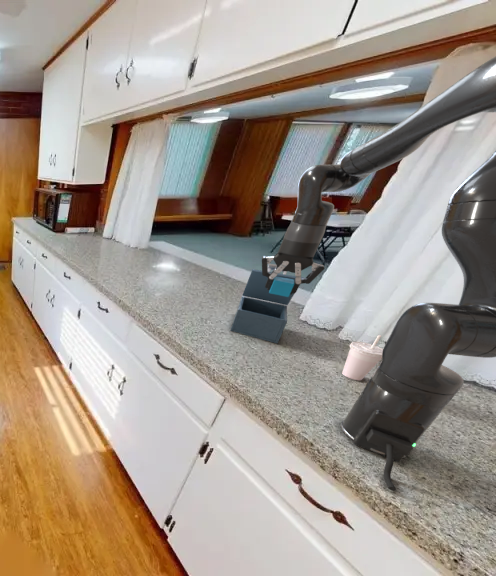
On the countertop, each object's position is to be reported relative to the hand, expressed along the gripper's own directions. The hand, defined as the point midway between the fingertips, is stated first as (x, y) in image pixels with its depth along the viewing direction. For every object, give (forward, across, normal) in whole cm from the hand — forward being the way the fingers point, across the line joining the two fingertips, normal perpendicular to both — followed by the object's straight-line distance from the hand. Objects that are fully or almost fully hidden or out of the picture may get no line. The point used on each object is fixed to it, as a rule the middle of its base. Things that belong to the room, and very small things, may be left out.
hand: (279, 291), depth 92 cm
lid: (+4, -1, +13) cm, 14 cm away
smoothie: (+19, +21, -5) cm, 29 cm away
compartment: (+19, -1, +10) cm, 22 cm away
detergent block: (0, 0, -1) cm, 1 cm away
